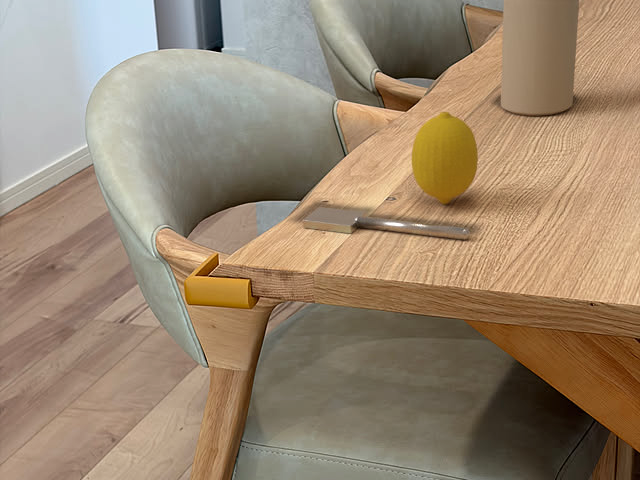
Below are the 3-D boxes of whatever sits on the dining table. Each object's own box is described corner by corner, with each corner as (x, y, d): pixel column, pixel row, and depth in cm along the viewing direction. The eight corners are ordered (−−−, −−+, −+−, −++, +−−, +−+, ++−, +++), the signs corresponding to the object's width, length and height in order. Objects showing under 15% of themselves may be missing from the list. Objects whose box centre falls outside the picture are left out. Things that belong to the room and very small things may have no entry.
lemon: (425, 190, 82) (424, 101, 78) (485, 195, 79) (487, 105, 76) (402, 211, 77) (400, 118, 74) (465, 218, 75) (466, 123, 71)
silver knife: (475, 232, 72) (475, 221, 72) (463, 247, 70) (463, 236, 69) (319, 214, 78) (319, 204, 78) (303, 227, 75) (302, 217, 75)
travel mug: (525, 120, 99) (533, -57, 90) (487, 105, 106) (491, -62, 97) (586, 109, 101) (599, -65, 93) (545, 94, 108) (554, -69, 100)
